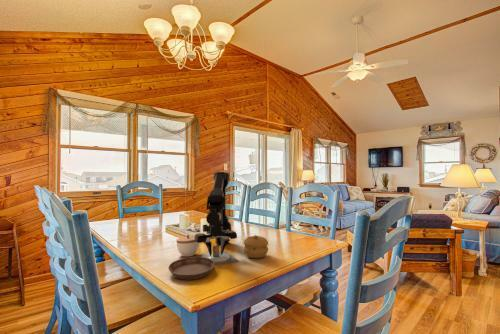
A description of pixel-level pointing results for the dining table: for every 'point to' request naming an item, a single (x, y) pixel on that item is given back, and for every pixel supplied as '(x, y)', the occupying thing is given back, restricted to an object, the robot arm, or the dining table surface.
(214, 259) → the lid
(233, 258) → the mat
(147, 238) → the dining table surface
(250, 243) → the pot
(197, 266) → the plant saucer
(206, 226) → the robot arm
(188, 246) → the lidded jar
